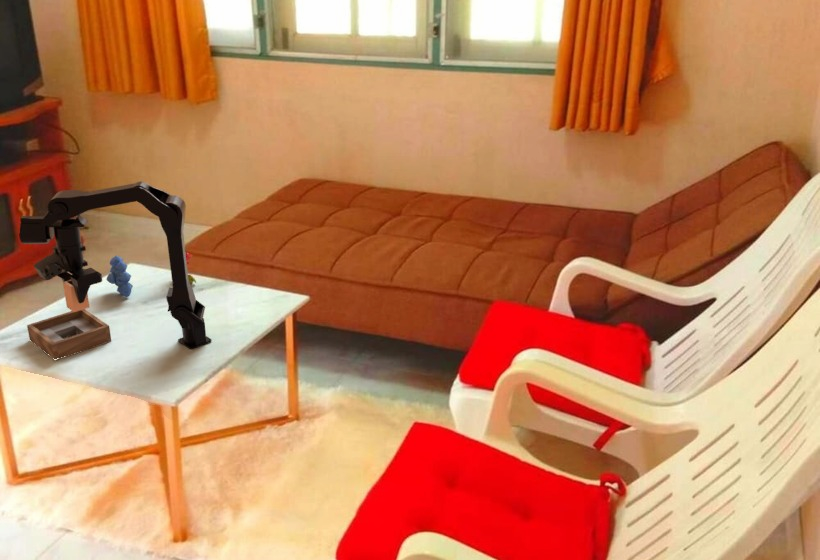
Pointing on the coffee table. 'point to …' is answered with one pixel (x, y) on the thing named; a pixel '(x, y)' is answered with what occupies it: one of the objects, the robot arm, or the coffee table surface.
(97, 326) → the socket box
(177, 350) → the coffee table surface
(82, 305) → the peg
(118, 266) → the grapes
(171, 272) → the robot arm
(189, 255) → the bird rattle
